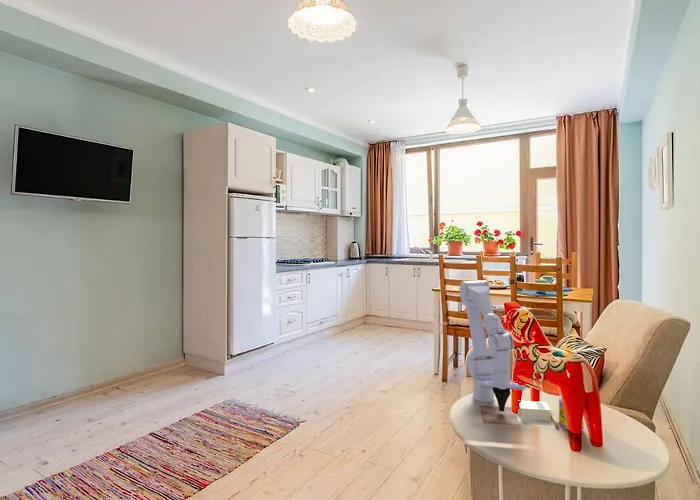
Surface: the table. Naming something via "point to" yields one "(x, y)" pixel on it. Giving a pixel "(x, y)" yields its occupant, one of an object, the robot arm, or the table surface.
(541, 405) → the carton
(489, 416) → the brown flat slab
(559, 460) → the table surface
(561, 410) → the supplement bottle
